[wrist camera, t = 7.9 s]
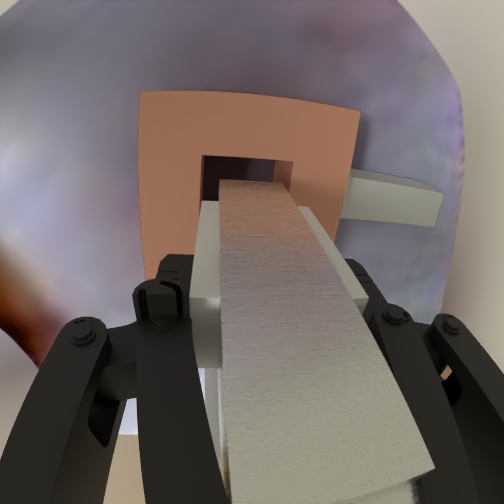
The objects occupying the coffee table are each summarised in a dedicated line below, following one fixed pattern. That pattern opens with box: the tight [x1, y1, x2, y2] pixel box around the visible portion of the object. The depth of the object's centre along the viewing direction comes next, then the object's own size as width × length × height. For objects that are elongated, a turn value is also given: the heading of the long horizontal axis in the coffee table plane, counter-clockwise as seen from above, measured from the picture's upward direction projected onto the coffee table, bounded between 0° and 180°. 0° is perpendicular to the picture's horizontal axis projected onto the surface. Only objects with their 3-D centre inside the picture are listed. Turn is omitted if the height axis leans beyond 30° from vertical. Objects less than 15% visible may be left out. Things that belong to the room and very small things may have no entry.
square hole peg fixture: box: [138, 91, 444, 470], centre depth 16 cm, size 22×17×16 cm
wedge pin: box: [217, 179, 435, 504], centre depth 9 cm, size 4×3×15 cm
